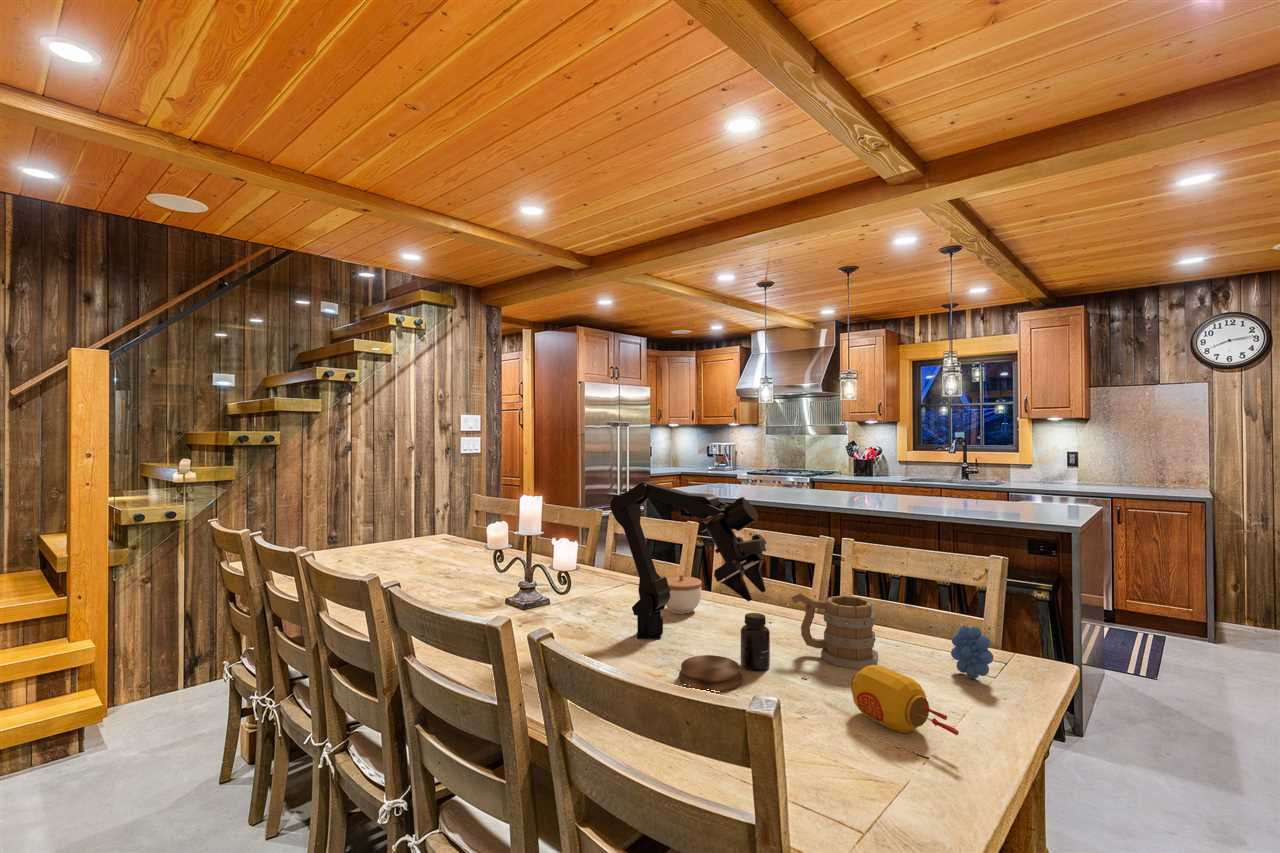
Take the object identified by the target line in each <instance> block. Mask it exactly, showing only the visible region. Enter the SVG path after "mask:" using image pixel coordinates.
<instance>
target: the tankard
mask: <svg viewBox="0 0 1280 853" xmlns="http://www.w3.org/2000/svg"><path fill="white" fill-rule="evenodd" d="M791 600H792V602H793V603H794V604H797V603H799V602H801V603H803V604H804V605H805V612H804V618H803V620H802V622H801V625H800V632H801V634H800V635H801V638H802V639H803V641H804V643H805V646H808V647H811V648H815V649H822V650H821V651H820V658H821V659H822V660H824V661H826V662H827V663H829V664H831V665H833V666H835V667H839V668H840V667H841V668H847V669H853V670H861V669H863V668H864V667H866V666H870V665H878V660H879V652H878V651H876V650H875V649H873V648H874V646H875V642H876V640H877V638H876V632H875V631H874V630H873V627H874V625H875V622H876V616H875V611H873V602H872V601H870V600H868V599H866V598H863V597H859V596H851V595H837V596H829V597H828V598H827V600H826V601H823V600H816V599H814V598H812V597H811V596H810V597H809V596H808V595H806V594H804V593H803V592H799V593H796V594H794V595H791ZM816 609H821V610H822V609H823V610H824V611H823V621H824V622H825V623H826V627H825V629H824V631H823V638H822V639H821V638H819V639H817V638H814V637H813V636H812V634H811V626H812V623H813V621H814V618H815V610H816Z"/></svg>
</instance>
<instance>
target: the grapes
mask: <svg viewBox="0 0 1280 853" xmlns="http://www.w3.org/2000/svg"><path fill="white" fill-rule="evenodd" d="M982 633H983V632H982V630H981V628H980V627H978V626H976V625H972V626H970V627H969V626H968V625H961V626H959V628H958V632H957V633H955V634H953V635H952V638H951V643H952V644H953V648H952V649H951V651H950V655H951V658H953V660H955V661H957V662H956V669H957V671H959V672H960V673H963V674H966V676H967V677H968V678H969V679H971V678H972V679H971V680H977V678H979V676H980V677H985V676H987V675H988V674H989V672H990V666H989V665H990V664H991V663H993V661H994V655H993V652H991V651H990V650H989V648H991V647H990V646H991V640H990V639H989V637H988V636H986V635H983V634H982Z"/></svg>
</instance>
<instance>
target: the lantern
mask: <svg viewBox="0 0 1280 853" xmlns="http://www.w3.org/2000/svg"><path fill="white" fill-rule="evenodd" d="M829 671H830V672H832V673H835V674H836V675H839V676H842V677H843V678H845V679H847V680H849V681H851V683H850V689H851V693H852V694H851V695H852V699H853V703H854V705H855V706H856V707H857V709H858V710H859V711H860V712H861V713H862V715H863V716H865V717H868V718H870V719H872V720H873V721H874V722H876V723H879V724H880V725H882V726H884V727H886V728H888V729H890V730H893V731H896V732H898V731H899V733H903V734H906V733H910V732H912V731H915V730H917V729H918V728H919V727H921V726H923V725H924V724H925V723H926V721H927V720H928V721H929V722H931V723H932V724H933V725H934V727H937V726H939V728H942V729H944V730H946V731H948V732H949V733H951V734H953V735H955V736H958V735H959V734H960V732H959V730H958V729H956V728H955V727H953V726H951V725H947V724H945V723H942V722H941V721H938V720H937V718H929V714H930V713H931V714H933V715H935V716H937V717H939V718H940V719H942V720H943V721H946V720H947V719H948V716H947V714H943V713H941V712H938V711H936V710H933V709H931V708H930V703H929V701H928V700H927V699H928V698H927V696H926V693H925V690H924V689H923V687H922V686H921V684H920V683H918V681H916V680H915V679H914V678H911V677H909V676H906V675H904V674H903V673H900V672H897V671H894V670H892V669H889V668H887V667H885V666H883V665H879V664H877V665H870V666H866V667H864V668H863V669H859V671H857V672H856V673H855V674H854V675H853V677H852V678H850V677H848V676H846V675H844V674H843V673H840V672H838V671H836V670H833V669H831V668H830V669H829Z"/></svg>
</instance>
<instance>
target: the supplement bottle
mask: <svg viewBox="0 0 1280 853" xmlns="http://www.w3.org/2000/svg"><path fill="white" fill-rule="evenodd" d="M766 624H767V622H766V615H765V614H763V613H759V612H748V613H746V614H744V625H743V626H742V627H741V628H740V665H741V668H743V669H745V670H747V671H752V672H763V671H767V670H768V669H769V668H770V666H771V645H770V644H771V634H770V633H771V632H770V629H769V628H768V627H767V626H766Z"/></svg>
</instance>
